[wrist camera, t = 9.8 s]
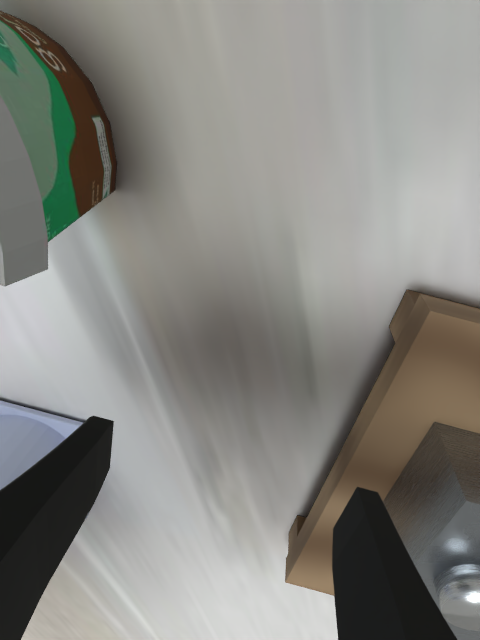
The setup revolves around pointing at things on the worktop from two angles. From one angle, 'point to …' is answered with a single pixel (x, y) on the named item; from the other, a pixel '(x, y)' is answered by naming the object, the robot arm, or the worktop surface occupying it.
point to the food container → (46, 147)
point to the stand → (395, 421)
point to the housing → (443, 522)
